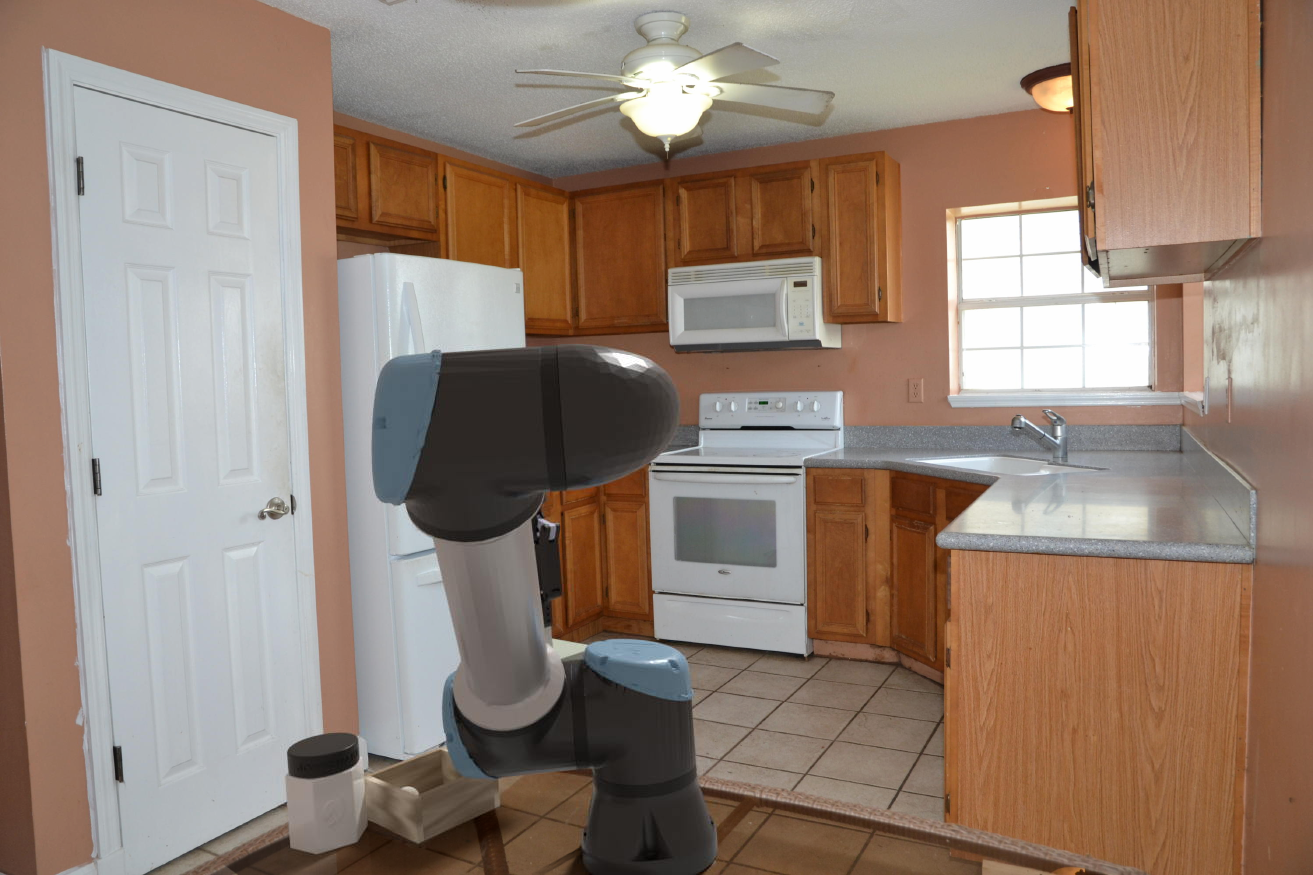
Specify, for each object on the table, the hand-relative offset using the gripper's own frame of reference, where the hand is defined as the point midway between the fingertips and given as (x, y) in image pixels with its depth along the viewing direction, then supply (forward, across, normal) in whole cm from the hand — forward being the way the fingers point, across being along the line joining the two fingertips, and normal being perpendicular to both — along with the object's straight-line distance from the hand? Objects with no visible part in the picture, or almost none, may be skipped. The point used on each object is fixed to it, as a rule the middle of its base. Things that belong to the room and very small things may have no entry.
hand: (528, 648), depth 120 cm
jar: (+19, +9, +25) cm, 33 cm away
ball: (+18, +6, +16) cm, 25 cm away
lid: (+2, 0, 0) cm, 2 cm away
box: (+19, +4, +14) cm, 24 cm away
